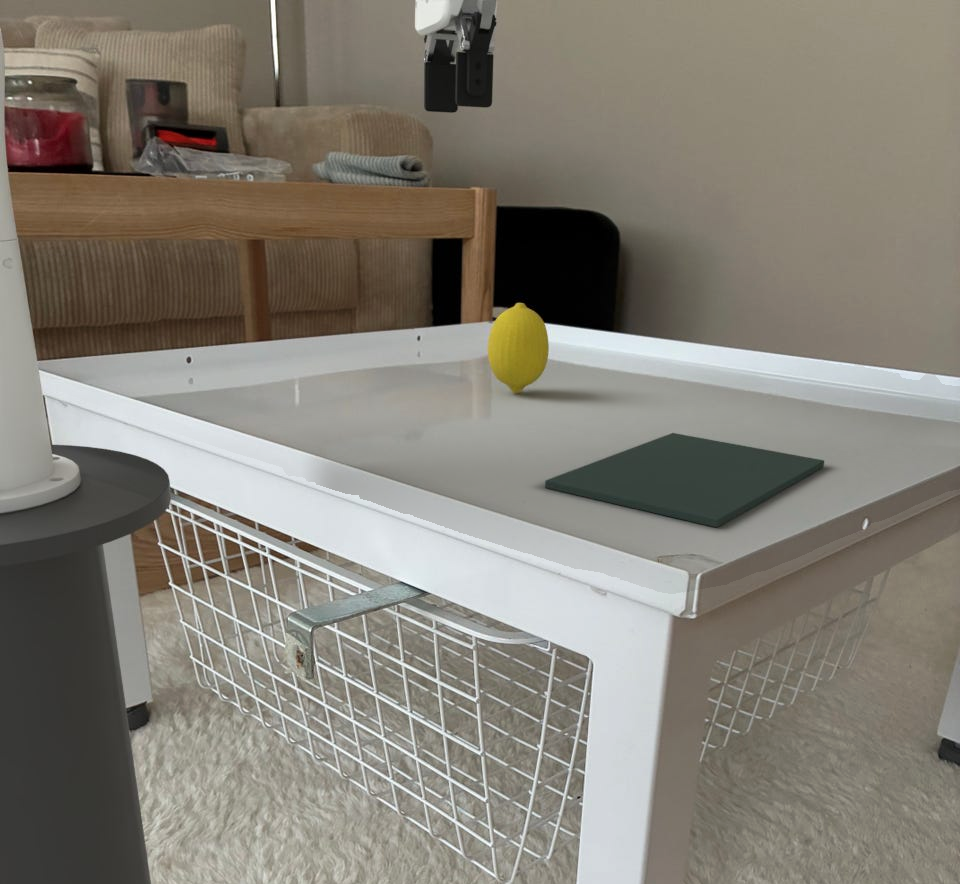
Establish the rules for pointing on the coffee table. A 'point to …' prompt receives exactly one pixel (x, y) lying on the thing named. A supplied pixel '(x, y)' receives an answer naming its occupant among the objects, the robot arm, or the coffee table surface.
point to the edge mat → (688, 478)
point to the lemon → (518, 347)
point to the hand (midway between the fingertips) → (456, 109)
